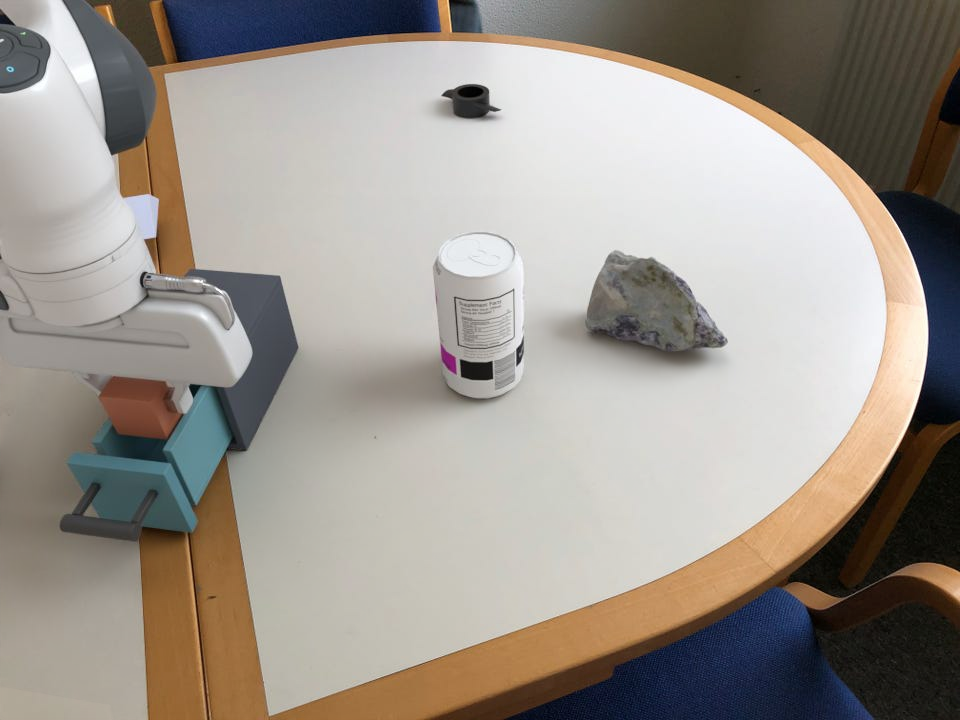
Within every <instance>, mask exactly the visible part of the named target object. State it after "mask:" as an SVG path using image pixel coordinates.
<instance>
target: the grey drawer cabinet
mask: <svg viewBox="0 0 960 720" xmlns="http://www.w3.org/2000/svg"><path fill="white" fill-rule="evenodd" d="M187 276H194V277H200V278H203V279H205V280H206V281H207V283H208V284H211V285H213V286H216V287H217V288H219V289H220V290H223V291H225V292H226V293H227V294H228V296H229V298H230V300H231V303H232V306H233V309H234V311H235V312H236V314H237V316H238V318H239V320H240V322H241V324H242V326H243V328H244V330H245V332H246V335H247V337H248V339H249V342H250V344H251V348H252V358H251V360H250V363H249V365H248V367H247V369H246V370H245V372H244V374H243V375H242V377H241V378H240V379H239V380H238V381H237V383H236V384H235V385H234V386H232V387H217V386H216V388H217V391H218V394H219V396H220V399H221V402H222V405H223V407H224V410H225V413H226V415H227V418H228V421H229V423H230V426H231V429H232V431H233V434H234V436H233V437H232V439H231V441H230V443H229V445H228V447H227V449H230V450H238V451H248V449H249V447H250V445H251V443H252V441H253V440H254V437H255V435H256V433H257V431H258V429H259V427H260V425H261V423H262V421H263V420H264V417H265V415H266V413H267V411H268V410H269V407H270V405H271V404H272V402H273V399H274V398H275V395H276V394H277V392H278V390H279V388H280V385H281V383H282V382H283V380H284V379H285V376H286V374H287V372H288V370H289V368H290V366H291V363H292V362H293V360H294V358H295V355H296V354H297V352H298V350H299V344H298V339H297V336H296V332H295V327H294V325H293V321H292V317H291V313H290V309H289V305H288V301H287V297H286V294H285V290H284V286H283V282H282V277H281V275H278V274H277V275H276V274H265V273H252V272H240V271H239V272H237V271H227V270H225V271H224V270H212V269H199V268H189V269H188V271H187V272H186V273H185V275H184V276H183V277H187Z"/></svg>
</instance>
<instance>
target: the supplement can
mask: <svg viewBox="0 0 960 720" xmlns="http://www.w3.org/2000/svg"><path fill="white" fill-rule="evenodd" d="M437 254H438V255H437V257H436V259H435V261H434V263H433V265H432V273H433V275H432V276H433V281H434V282H433V283H434V284H433V285H434V296H435V305H436V315H437V323H438V324H437V325H438V326H437V327H438V335H439V336H438V337H439V347H440V357H441V367H442V375H443V377H442V378H443V379H444V381H445V382H446V384H447V385H448V387H449V388H451V389H452V390H453V391H455V392H456V393H457V394H459V395H462V396H466V397H469V398H473V399H486V400H487V399H491V398H495V397H500V396H501V395H503V394H505V393H507V392H509V391H511V390H513V389H514V388H515V387H516V386H517V385H518V384H519V382H520V381H521V380H522V377H523V373H524V371H525V328H524V327H525V316H524V315H525V291H524V290H525V266H524V262H523V259H522V257H521V255H520V254H519V252H518V251H517V248H516V245H515V244H514V243H513V242H512V241H511V240H510V239H509V238H508V237H505V236H504V235H501V234H499V233H497V232H491V231H487V230H483V231H482V230H480V231H479V230H478V231H477V230H473V231H467V232H463V233H459V234H456V235H454V236H452V237H450V238H448V239H447V240H446V241H445V242H444V243H443V244H442V245H441V246H440V248H439V251H438V253H437Z"/></svg>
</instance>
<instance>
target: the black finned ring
mask: <svg viewBox="0 0 960 720" xmlns="http://www.w3.org/2000/svg"><path fill="white" fill-rule="evenodd" d="M441 97H444V98H448V99H451V103H452V112H453V114H454V115H455V116H457V117H459V118H463V119H476V118H477V119H478V118H481V117H484V116H486V115H487V114H489V113H490V112H493V113H496V112H499V111H502V109H501V108H498V107H495V106H493V105H491V104H490V103H491V101H490V89H489V88H488V87H487V86H485V85H482V84H478V83H468V84H467V83H465V84H462V85H458V86H457V87H455V88H451V89H447V90H445V91H444V92H443V93H442V94H441Z"/></svg>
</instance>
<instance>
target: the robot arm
mask: <svg viewBox="0 0 960 720" xmlns="http://www.w3.org/2000/svg"><path fill="white" fill-rule="evenodd" d="M0 10H1V11H2V13H4V15H6V17H7V18H8V19H9V20H10V21H11V22H12V23H13V24H14V25H13V24H7V23H6V24H5V23H0V359H1V360H2V361H4V362H5V363H7V364H8V365H10V366H12V367H18V368H29V369H38V370H48V371H59V372H68V373H69V372H70V373H71V374H72V375H73V378H74V379H75V380H77V381H78V382H79V383H81V384H82V385H84V387H86V388H87V389H88V390H90V391H91V392H93V393H95V394H96V396H97V398H98V400H99V402H100V403H101V401H100V399H99V397H98V396H99V395H100V393H101V392H102V390H103V389H104V388H105V386H106V385H107V384H108V382H109V381H110V379H111V378H112V377H113V376H117V377H127V378H137V379H147V380H157V381H166V384H167V386H168V387H170V389H169V390H168V391H169V392H168V393H166V395H165V397H164V398H163V401H164V404H165V406H166V407H167V410H168V412H173V413H181V414H186V413H187V412H188V410H189V409H190V407H191V405H192V403H193V397H192V394H191V392H190V389H189V386H190V384H197V385H207V386H217V387H232V386H234V385H235V384H236V383H237V381H238V380H239V379H240V378H241V377H242V375H243V374H244V372H245V370H246V369H247V367H248V365H249V363H250V360H251V358H252V348H251V344H250V342H249V339H248V337H247V335H246V332H245V330H244V328H243V326H242V324H241V322H240V320H239V318H238V316H237V314H236V312H235V311H234V309H233V306H232V303H231V300H230V298H229V296H228V294H227V293H226V292H225V291H223V290H220V289H219V288H217V287H216V286H213V285H211V284H208V283H207V281H206V280H205V279H203V278H200V277H194V276H187V277H184V276H177V275H172V274H166V273H157V269H156V266H155V264H154V263H155V262H154V260H153V258H152V256H151V253H150V251H149V248H148V245H147V243H146V241H145V239H144V238H143V235H142V233H141V230H140V228H139V225H138V223H137V220H136V218H135V215H134V213H133V211H132V209H131V207H130V206H129V205H128V203H127V202H126V201H125V200H124V199H123V198H124V197H123V196H122V194H121V192H120V190H119V189H118V185H117V181H116V168H115V163H114V159H113V157H112V156H115V155H118V154H121V153H124V152H127V151H129V150H132V149H135V148H138V147H140V146H141V145H142V144H143V142H144V141H145V138H146V137H147V134H148V133H149V131H150V129H151V125H152V122H153V119H154V116H155V111H156V106H157V98H158V97H157V95H158V94H157V87H156V83H155V80H154V77H153V75H152V72H151V70H150V68H149V66H148V65H147V63H146V61H145V60H144V58H143V56H142V55H141V54H140V52H139V51H138V50H137V48H136V47H135V45H133V44H132V42H131V41H130V40H129V39H128V38H127V37H126V35H124V34H123V32H122V31H120V30H119V29H118V28H117V27H116V26H114V24H112V23H111V22H110V21H109V20H108V19H106V18H105V16H103V15H102V13H100V12H99V11H98V10H96V9H95V8H94V7H93V6H92V5H91V4H90V3H88V2H87V1H86V0H0Z"/></svg>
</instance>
